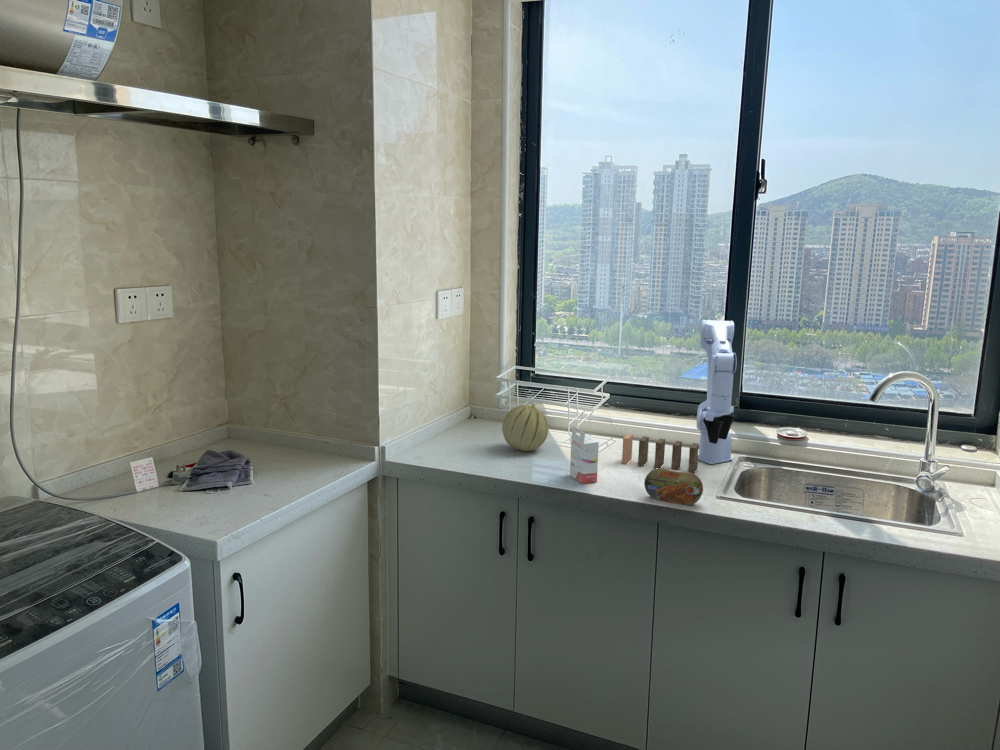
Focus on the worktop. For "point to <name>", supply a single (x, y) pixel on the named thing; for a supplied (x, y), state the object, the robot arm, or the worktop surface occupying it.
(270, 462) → the worktop surface
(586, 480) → the ink cartridge box
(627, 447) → the domino
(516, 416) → the cantaloupe
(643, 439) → the domino
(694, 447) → the domino
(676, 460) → the domino
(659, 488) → the tin
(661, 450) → the domino
